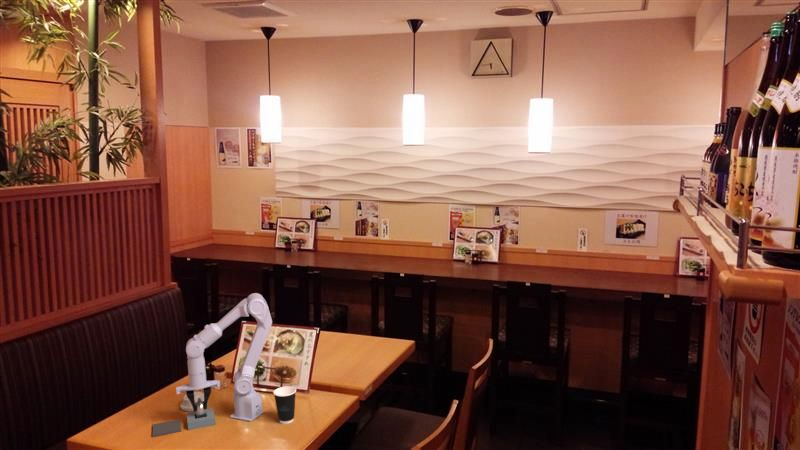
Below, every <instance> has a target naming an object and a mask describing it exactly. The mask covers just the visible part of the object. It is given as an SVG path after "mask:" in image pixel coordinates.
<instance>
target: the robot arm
mask: <svg viewBox="0 0 800 450" xmlns="http://www.w3.org/2000/svg"><path fill="white" fill-rule="evenodd" d="M267 302H268V301H266V299H265V298H264V297H263V295H262V294H260V293H258V292H254V293H251V294H249V295H248V296H247V297H245V298H244V299H242V300H241V301H240V302H238V304H237V305H236V306H234V307H233V308H232V309H231V310H230V311H228V312H227V314H225V315H224V316H223V317H222V318H221V319H220V320H219V321H218V322H215V323H212V322H211V323H210V324H206V325H204V328H203V330H201V331H200V332H199V333H198V334H194V335H193V337H191V338H190V339H188V341H187V342H186V346H185V352H186V355H187V356H186V359H187V361H186V362H187V363H186V364H187V370H188V371H187V372H188V373H187V375H188V384H184V385H181V386H180V385H179V386H176V387H175V389H176V391H175V392H176V395H180V394H182V393H186V394H185V395H187V397H188V399H189V400H190V402H191V404H192V406H193V409H194V411H193V412H195V411H196V407H195V400H194V392H196V391H200V390H203V393H204V406H205V409H208V405H207V403H208V404H209V399H210V397H211V394H212V388H220V387H221V381H220V379H215V380H207V371H206V361H205V356H204V352H205V349H208V348H210V346H211V345H213V344H214V343H215V342H216V341H218V339H220V338H221V337H222V336H223V331H224V330H225V329H226V328H228V327H229V326H230V325H232V324H233V323H234V322H236V321H238V319H239V318H241V317H250V315H251V316H252V317H253V318H255V320H256V322H257V324H256V327H255V329H254V332H253V335H252V336H251V340H250V343H249V344H248V348H247V350H246V353H245V356H244V359H243V362H242V363H241V364H240V365H239V369H238V370H237V371H236V372H235V373H234V375H233V382H234V389H233V392H232V393H233V403H234V404H233V405H234V413H232V414H230V415H229V418H231V419H237V420H241V421H247V422H253V421H254V420H255V419H256V418H258V417H259V416H261V415H262V414H263V413H265V411H264V410H263V409H264V408H263V397H262V395H261V393H259V392H257V391H256V390H255V388H254V383H253V382H254V381H253V380H254V377H255V371H256V368H257V364H258V362H259V360H260V357H261V354H262V351H263V349H264V346H265V343H266V341H267V339H268V336H269V333H270V330H271V327H272V324H273V319H272V316H271V313H270V309H269V306H268V303H267Z"/></svg>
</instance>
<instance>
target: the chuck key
mask: <svg viewBox="0 0 800 450" xmlns="http://www.w3.org/2000/svg"><path fill="white" fill-rule="evenodd" d="M195 407H196V418H202V417H205V406H204V401H201V398H198V401H197V402H196V403H195Z"/></svg>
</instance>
